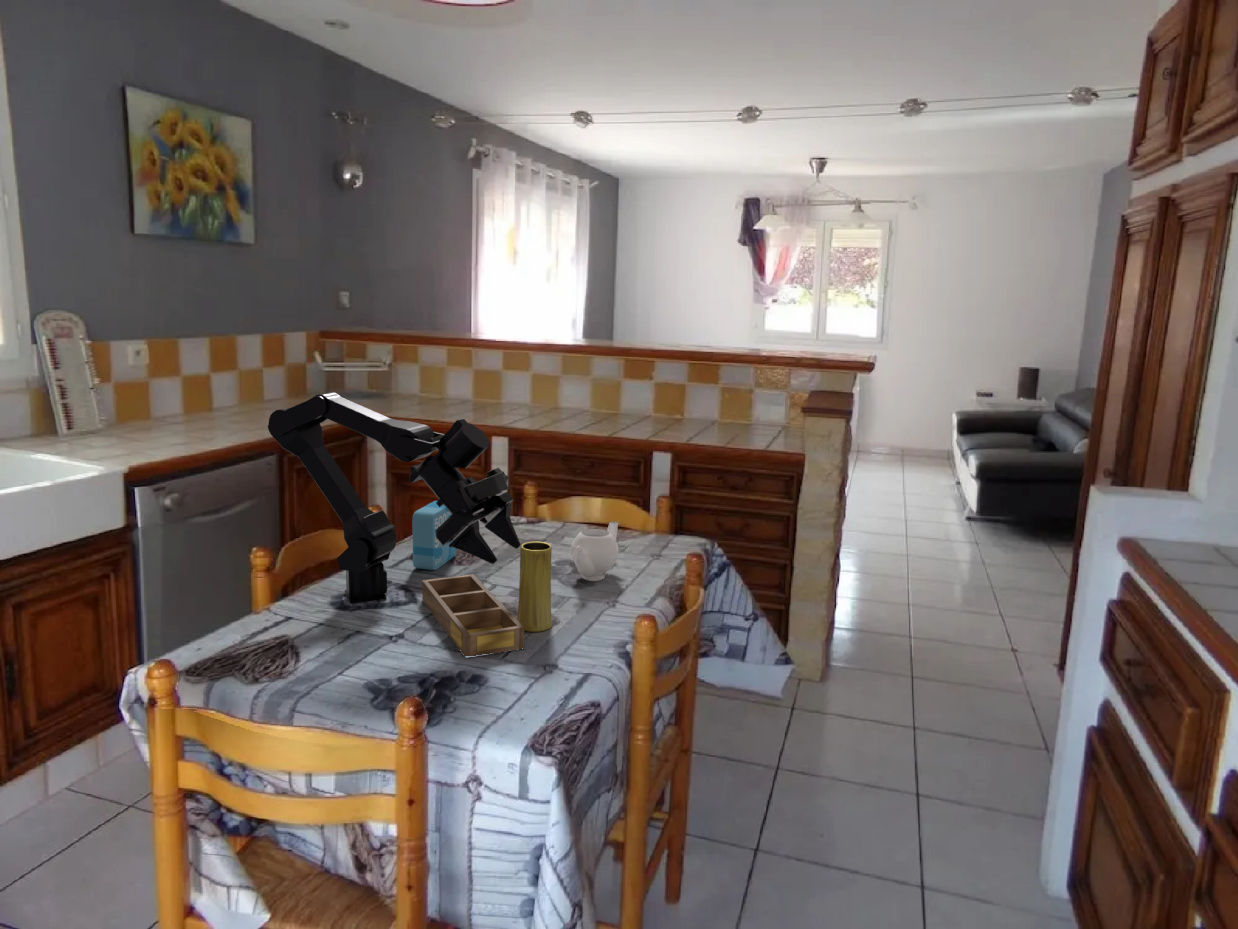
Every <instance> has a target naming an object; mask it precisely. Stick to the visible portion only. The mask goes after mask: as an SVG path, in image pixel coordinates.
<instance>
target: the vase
mask: <svg viewBox="0 0 1238 929" xmlns="http://www.w3.org/2000/svg"><path fill="white" fill-rule="evenodd" d="M552 549H553V548H552V544H550V543H548V542H544V541H529V542H528V541H527V542H523V543H522V544H521V545H520V547H519V550H520V555H519V556H520V557H519V585H518V586H519V587H518V607H517V608H518V609H517V620H518V621H519V622H520V623H521V624H522V625H523V626H524V632H529V633H530V632H531V633H538V632H544V631H548V630H549V629H551V628H552V627H553V625H554V624H553V619H552V554H553V553H552Z"/></svg>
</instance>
